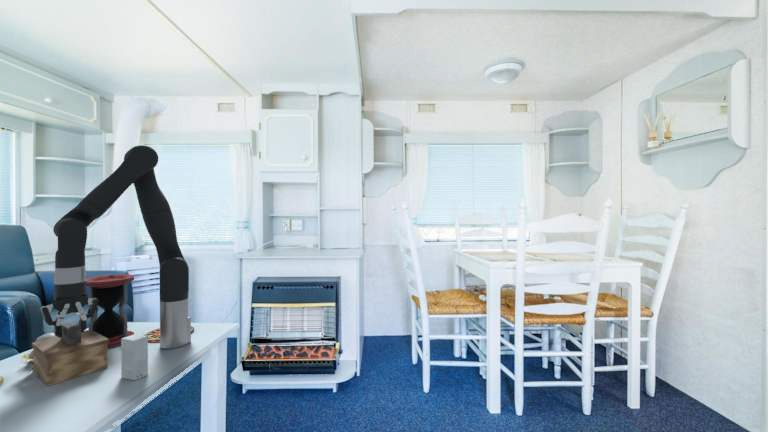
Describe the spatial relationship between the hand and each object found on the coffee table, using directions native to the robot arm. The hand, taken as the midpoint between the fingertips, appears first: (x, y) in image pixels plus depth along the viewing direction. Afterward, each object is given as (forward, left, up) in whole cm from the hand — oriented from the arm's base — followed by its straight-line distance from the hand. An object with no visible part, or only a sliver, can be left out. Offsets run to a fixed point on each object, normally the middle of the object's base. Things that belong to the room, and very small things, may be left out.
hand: (70, 334), depth 108 cm
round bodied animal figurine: (0, -17, -12) cm, 20 cm away
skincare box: (-10, +22, -12) cm, 27 cm away
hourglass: (-16, -19, -12) cm, 27 cm away
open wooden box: (0, 0, -11) cm, 11 cm away
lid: (0, 0, -4) cm, 4 cm away
